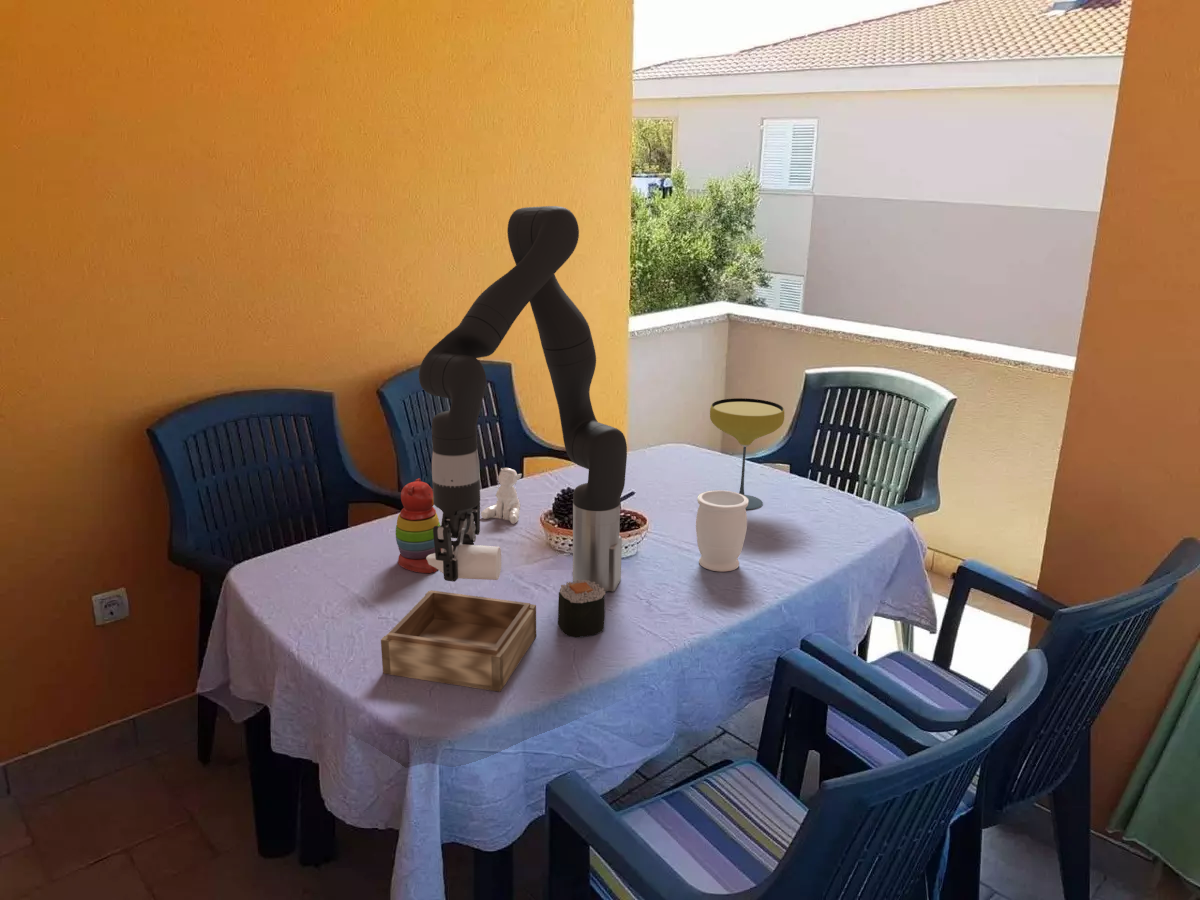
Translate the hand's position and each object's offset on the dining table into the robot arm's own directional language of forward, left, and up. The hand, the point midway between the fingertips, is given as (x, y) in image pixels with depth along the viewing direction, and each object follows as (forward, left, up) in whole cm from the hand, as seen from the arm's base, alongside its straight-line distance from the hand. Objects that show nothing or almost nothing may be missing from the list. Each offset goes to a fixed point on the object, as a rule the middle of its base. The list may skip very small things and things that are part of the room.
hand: (459, 571), depth 147 cm
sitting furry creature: (+15, -63, -16) cm, 67 cm away
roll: (-1, 0, -1) cm, 1 cm away
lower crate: (0, 0, -15) cm, 15 cm away
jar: (-38, -49, -16) cm, 64 cm away
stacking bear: (+23, -33, -16) cm, 43 cm away
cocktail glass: (-39, -88, -16) cm, 97 cm away
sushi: (-17, -15, -16) cm, 28 cm away
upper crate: (0, 0, -15) cm, 15 cm away
